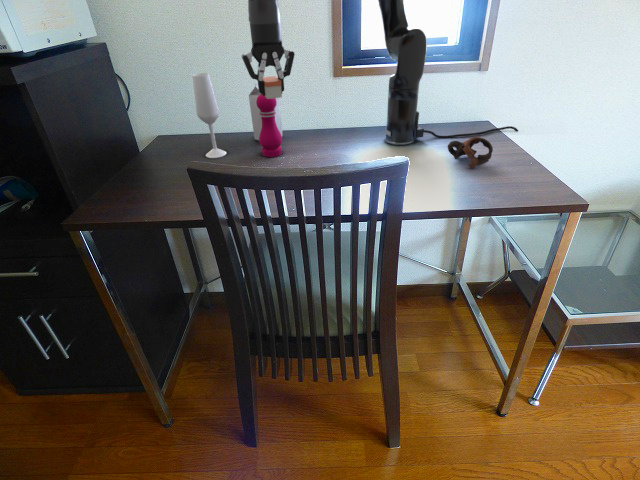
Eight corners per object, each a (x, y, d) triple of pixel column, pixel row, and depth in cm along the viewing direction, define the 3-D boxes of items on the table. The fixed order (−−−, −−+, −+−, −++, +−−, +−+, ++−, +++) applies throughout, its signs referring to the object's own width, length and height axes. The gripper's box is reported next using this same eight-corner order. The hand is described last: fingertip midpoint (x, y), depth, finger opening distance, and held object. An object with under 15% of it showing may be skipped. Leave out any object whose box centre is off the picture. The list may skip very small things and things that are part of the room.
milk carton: (282, 136, 136) (277, 79, 126) (270, 143, 131) (263, 84, 121) (267, 134, 139) (260, 78, 129) (254, 140, 134) (246, 82, 124)
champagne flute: (230, 153, 124) (217, 73, 111) (213, 159, 120) (196, 77, 107) (218, 148, 128) (204, 71, 115) (201, 154, 124) (184, 75, 111)
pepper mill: (279, 158, 119) (272, 90, 108) (257, 157, 121) (248, 90, 110) (286, 149, 125) (280, 85, 114) (265, 149, 126) (257, 85, 115)
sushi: (276, 92, 107) (274, 76, 105) (282, 97, 101) (281, 80, 99) (262, 93, 106) (260, 77, 104) (267, 99, 101) (265, 82, 98)
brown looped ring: (482, 157, 115) (496, 138, 108) (480, 181, 111) (494, 163, 103) (443, 145, 115) (455, 126, 108) (439, 169, 111) (451, 151, 104)
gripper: (237, 24, 90) (248, 100, 99) (296, 20, 93) (301, 94, 102) (233, 22, 96) (243, 94, 105) (289, 18, 99) (294, 88, 108)
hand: (272, 93), depth 104 cm, fingers closed on sushi, 4 cm apart
